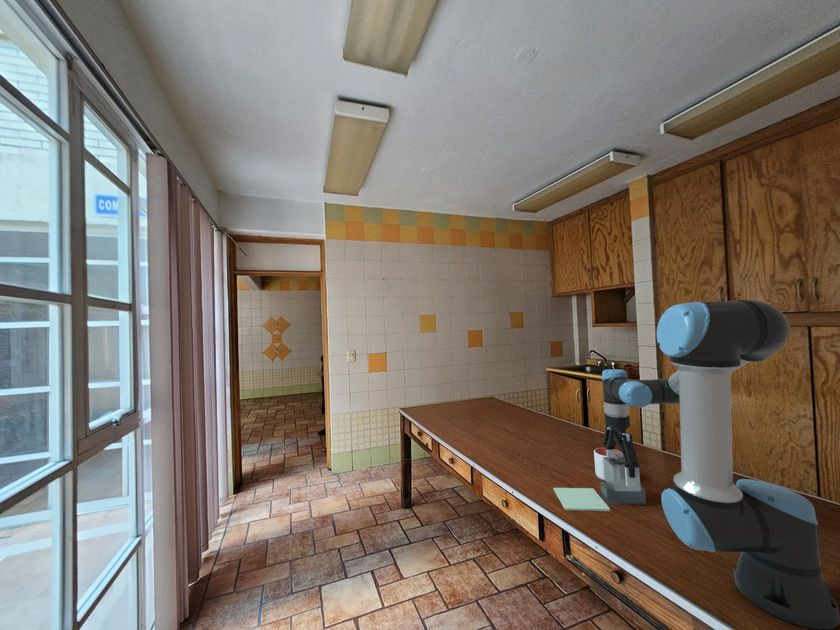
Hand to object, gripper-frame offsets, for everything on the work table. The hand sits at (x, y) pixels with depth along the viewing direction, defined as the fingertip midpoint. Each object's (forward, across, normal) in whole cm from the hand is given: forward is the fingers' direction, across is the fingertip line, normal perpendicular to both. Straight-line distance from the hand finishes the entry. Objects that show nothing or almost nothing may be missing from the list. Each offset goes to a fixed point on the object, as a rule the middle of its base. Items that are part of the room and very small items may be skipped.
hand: (621, 477), depth 112 cm
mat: (+8, 0, +14) cm, 16 cm away
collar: (+3, 0, 0) cm, 3 cm away
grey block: (+8, 0, 0) cm, 8 cm away
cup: (+8, +17, -3) cm, 19 cm away
